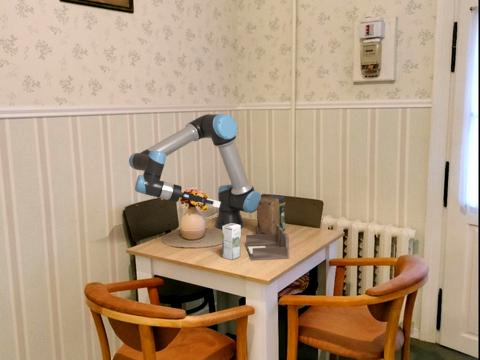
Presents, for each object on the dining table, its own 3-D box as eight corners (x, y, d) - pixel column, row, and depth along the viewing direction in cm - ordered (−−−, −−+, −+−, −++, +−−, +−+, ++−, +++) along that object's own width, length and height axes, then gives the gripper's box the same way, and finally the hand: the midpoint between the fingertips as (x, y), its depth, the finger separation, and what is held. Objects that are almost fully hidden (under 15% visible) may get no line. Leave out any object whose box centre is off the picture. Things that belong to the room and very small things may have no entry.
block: (280, 237, 224) (281, 198, 221) (272, 240, 218) (272, 200, 215) (262, 233, 230) (263, 195, 227) (254, 237, 224) (254, 198, 221)
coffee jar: (264, 229, 238) (264, 195, 235) (271, 226, 245) (271, 193, 242) (280, 232, 233) (280, 197, 230) (287, 229, 239) (287, 195, 236)
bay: (245, 245, 211) (244, 225, 209) (278, 243, 213) (278, 224, 211) (251, 260, 189) (251, 238, 188) (288, 258, 191) (288, 237, 190)
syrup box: (230, 254, 197) (230, 222, 195) (241, 257, 194) (241, 224, 191) (222, 257, 193) (221, 225, 191) (232, 260, 189) (232, 227, 187)
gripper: (164, 199, 208) (207, 210, 215) (173, 201, 185) (221, 213, 191) (168, 183, 209) (211, 195, 215) (177, 184, 185) (225, 196, 192)
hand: (215, 204), depth 203 cm, fingers open, 13 cm apart
